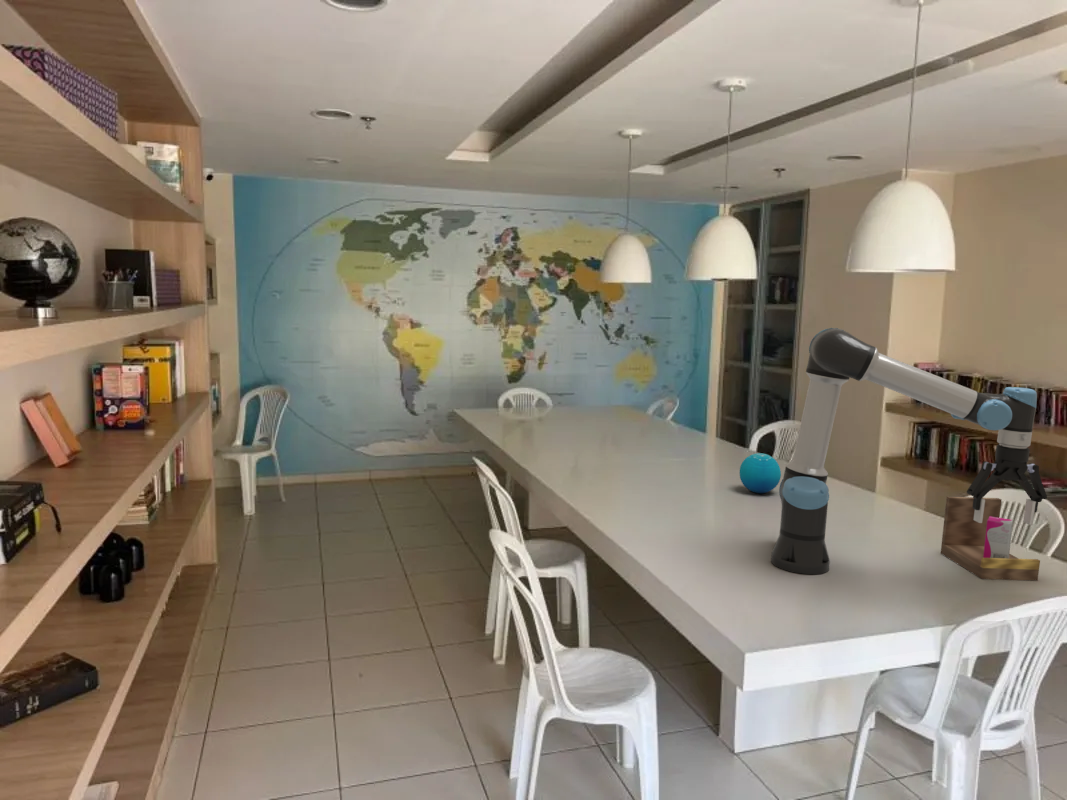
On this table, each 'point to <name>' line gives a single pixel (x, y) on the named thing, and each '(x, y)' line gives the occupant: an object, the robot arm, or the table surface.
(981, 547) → the display shelf
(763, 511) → the table surface
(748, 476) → the decorative orb
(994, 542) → the supplement box
